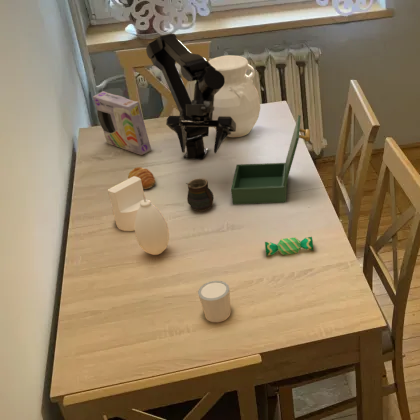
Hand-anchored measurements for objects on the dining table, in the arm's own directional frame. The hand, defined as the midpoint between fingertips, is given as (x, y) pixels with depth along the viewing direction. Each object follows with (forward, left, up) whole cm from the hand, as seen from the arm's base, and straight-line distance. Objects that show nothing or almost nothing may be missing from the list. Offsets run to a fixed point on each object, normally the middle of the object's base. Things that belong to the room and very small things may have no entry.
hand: (199, 152), depth 185 cm
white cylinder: (+51, +20, -14) cm, 56 cm away
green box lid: (-5, +25, -1) cm, 26 cm away
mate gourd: (+8, +1, -14) cm, 16 cm away
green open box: (-3, +16, -14) cm, 21 cm away
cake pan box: (-26, -36, -14) cm, 47 cm away
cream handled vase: (-41, -3, -14) cm, 44 cm away
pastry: (-4, -21, -14) cm, 26 cm away
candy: (+26, +31, -14) cm, 42 cm away
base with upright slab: (+17, -15, -14) cm, 26 cm away
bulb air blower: (+30, -3, -14) cm, 33 cm away
